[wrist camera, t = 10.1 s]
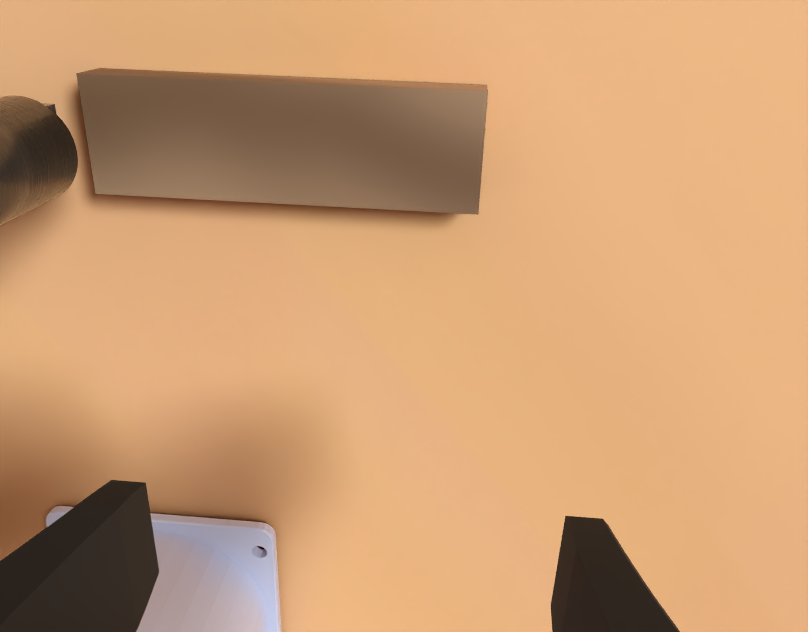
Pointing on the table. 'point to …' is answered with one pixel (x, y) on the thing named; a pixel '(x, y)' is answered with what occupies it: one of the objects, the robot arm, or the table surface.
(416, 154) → the rail
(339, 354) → the table surface
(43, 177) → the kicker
